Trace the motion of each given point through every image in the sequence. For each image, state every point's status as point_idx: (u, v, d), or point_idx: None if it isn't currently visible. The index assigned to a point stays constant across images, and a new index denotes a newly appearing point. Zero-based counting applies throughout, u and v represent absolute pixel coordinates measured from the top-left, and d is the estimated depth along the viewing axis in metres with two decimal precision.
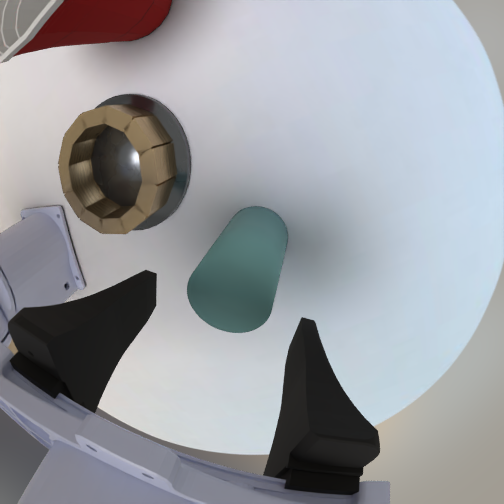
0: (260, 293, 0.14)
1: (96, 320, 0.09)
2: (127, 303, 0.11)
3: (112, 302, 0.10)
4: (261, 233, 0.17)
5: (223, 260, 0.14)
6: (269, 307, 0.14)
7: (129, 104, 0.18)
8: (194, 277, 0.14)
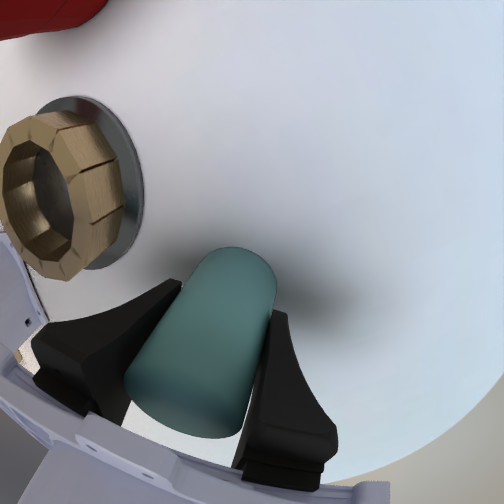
0: (223, 409, 0.08)
1: (127, 334, 0.09)
2: (155, 314, 0.11)
3: (141, 314, 0.10)
4: (232, 300, 0.11)
5: (163, 366, 0.08)
6: (239, 423, 0.08)
7: (66, 110, 0.12)
8: (129, 376, 0.09)
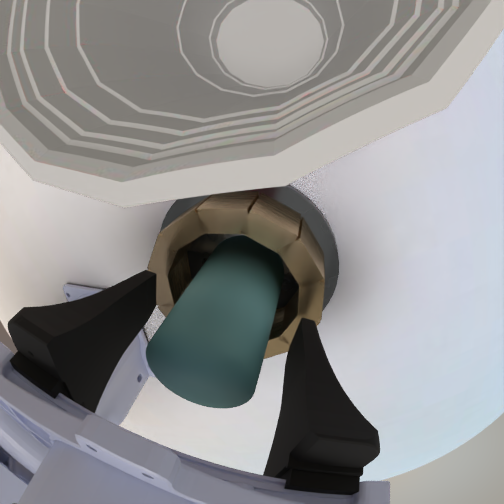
0: (238, 373, 0.10)
1: (96, 320, 0.09)
2: (127, 303, 0.11)
3: (112, 302, 0.10)
4: (244, 279, 0.13)
5: (184, 332, 0.09)
6: (251, 388, 0.10)
7: (262, 194, 0.15)
8: (152, 347, 0.10)
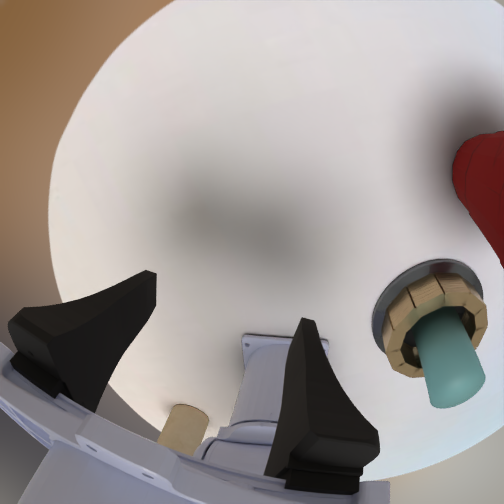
0: (479, 382, 0.14)
1: (96, 320, 0.09)
2: (127, 303, 0.11)
3: (112, 302, 0.10)
4: (464, 332, 0.17)
5: (470, 369, 0.13)
6: (479, 389, 0.14)
7: (459, 275, 0.19)
8: (445, 382, 0.14)
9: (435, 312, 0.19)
